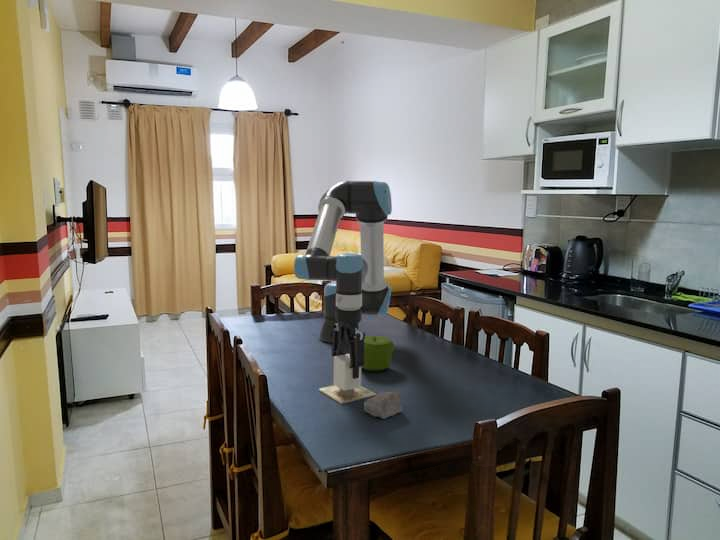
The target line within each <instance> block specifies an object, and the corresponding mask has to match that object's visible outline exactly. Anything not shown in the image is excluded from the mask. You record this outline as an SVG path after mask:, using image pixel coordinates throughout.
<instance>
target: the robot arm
mask: <svg viewBox="0 0 720 540" xmlns="http://www.w3.org/2000/svg"><path fill="white" fill-rule="evenodd" d="M392 209H393V208H392V193H391V189H390V186H389V183H387V182H385V181H377V180H373V181H369V180H368V181H367V180H365V181H364V180H352V181H351V180H345V181H339V182H337V183H336V184H334V185H332V186H331V187H329V189H328V190H326V192H324V194H323V195H322V196H321V198H320V200H319V203H318V206H317V210H318V215H317V218H316V221H315V224H314V227H313V230H312V233H311V235H310V236H311V237H310V239H309V242H308V245H307V249H306V251H305V254H298V255H296V257H295V259H294V263H293V271H294V272H293V273H294V275H295V277H296V279H298V280H304V281H305V280H307V281H327V282H328V283H326V284H325V286H324V289H323V290H324V291H323V292H324V294H323V322H322V324H321V327H320V331H319V333H318V334H319V335H318V337H319V338H318V339H319V340H320V341H322V342H324V343H329V344H331V345H332V346H331V356H332V357H333V358H334V356H339V355H344V354H346V352H347V351H346V350H347V346H348V354H350V361H351V366H349V389H350V390H351V389H355V388H358V378H359V367H361V368H362V366H364V339H365V336H366V332H365V331H364V332H362V331H360V328H359V323H360V322H361V321H362V315H364V316H375V317H377V316H386V315H387V314H388V313H389V306H390V302H391V294H392V288H393V287H392V286H390V285H389V283H388V281H387V280H386V279H385V274H384V273H385V270H384V268H385V263H384V259H385V258H384V253H385V252H384V246H385V245H384V241H385V240H384V238H385V237H384V223H385V222H386V221H387V220H388V216H390V215H391V214H392V211H393V210H392ZM345 214H353V215H355V220H356V221H357V222H358V223H359V227H360V229H359V230H360V231H359V233H360V234H359V235H360V236H359V237H360V254H359V253H347V252H346V253H344V252H343V253H340V254H337V256H333V255H332V256H331V253H332V249H333V245H334V242H335V239H336V235H337V231H338V227H339V224H340V220H341V219H342V218H344V216H345ZM329 281H330V282H329Z"/></svg>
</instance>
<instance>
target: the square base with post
mask: <svg viewBox="0 0 720 540" xmlns="http://www.w3.org/2000/svg"><path fill="white" fill-rule="evenodd" d="M318 391H319V392H320V393H322V394H324V395H326V396H327V397H328V398H331V399H332V400H334V401H335V402H337V403H339V404H340V405H342V404H343V405H344V404H347V403H351V402H355V401H360V400H363V399H367V398H370V397H371V398H372V397H375V396H376V395H377V394H376V392H373V391H372V390H370V389H368V388H366V387H364V386H362V385H361V387H358V388H355V389H351V390H346V391H344V390H342V389H340V388H339V387H337V386H335V385H329V386H325V387H321V388H318Z"/></svg>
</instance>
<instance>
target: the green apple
mask: <svg viewBox="0 0 720 540" xmlns="http://www.w3.org/2000/svg"><path fill="white" fill-rule="evenodd" d="M394 345H395V344H394V343H393V341H392V340H391V339H390V338H388V337H385V336H378V335H365V339H364V366H362V367H361V369H364V370H365V371H368V372H380V371H381V372H382V371H383V370H386V369H387V368H389V367H390V366H391V363H392V357H393V354H394V353H393V352H394V347H395V346H394Z"/></svg>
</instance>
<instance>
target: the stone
mask: <svg viewBox="0 0 720 540" xmlns="http://www.w3.org/2000/svg"><path fill="white" fill-rule="evenodd" d="M363 410H364V412H365V413H368V414H369V415H370V416H372V417H376V418H380V419H382V420H386V419H387V418H389V417H393V416H395V415H396V414H399V413H402V412H403V407H402V397H401V393H400V392H399V391H397V392H390V391H387V392H379V393H378V394H376V395H375V396H371V398H370V397H369V398H368V399H367V400H366V401H363Z"/></svg>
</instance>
